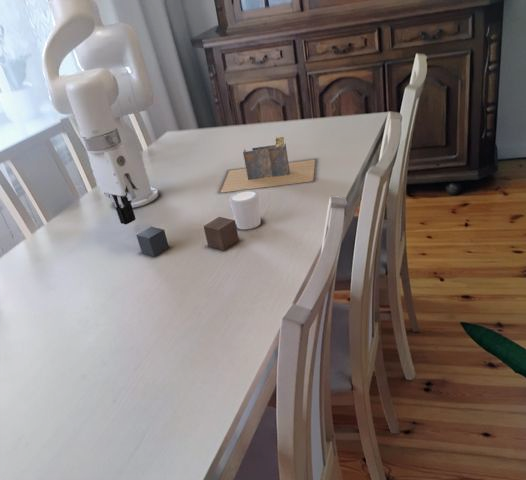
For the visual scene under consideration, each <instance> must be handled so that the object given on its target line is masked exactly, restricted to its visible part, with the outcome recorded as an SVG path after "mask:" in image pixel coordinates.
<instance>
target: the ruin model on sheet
mask: <svg viewBox="0 0 526 480" xmlns="http://www.w3.org/2000/svg"><path fill="white" fill-rule="evenodd" d="M286 143H287V142H286ZM286 143H285V136H284V135H283V136H279V137H277V136H275V144H271V145H266V146H265V145H263V146H257V147H252V148H251V150H247V151H246V148H244V149H243V151H242V154H243V161H244V165H245V168H239V169H232V170H229V171H228V173H227V175H226V178H225V180H224V183H223V184H222V187H221V189H220V193H228V192H229V193H230V192H238V191H245V190H253V189H260V188H269V187H277V186H285V185H294V184H300V183H301V184H303V183H309V182H314V178H315V177H314V175H315V167H316V166H315V165H316V159H310V160H309V159H308V160H302V161H294V162H289V157H288V150H287V144H286Z"/></svg>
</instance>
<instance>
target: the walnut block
mask: <svg viewBox="0 0 526 480" xmlns="http://www.w3.org/2000/svg"><path fill="white" fill-rule="evenodd" d="M203 230H204V235H205V239H206V242H207V246H208V247H209V248H213V249H217V250H221V251H225V250H227V249H229V248H231V247H233V245H235V244H237V243H238V242H239V241H240V238H239V233H238V227H237V224H236V221H235V219H231V218H226V217H223V216H218V217H215V218H214V219H213V220H211V221H210V222H208V223H206V224H204V225H203Z"/></svg>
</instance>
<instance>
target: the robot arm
mask: <svg viewBox="0 0 526 480" xmlns="http://www.w3.org/2000/svg"><path fill="white" fill-rule="evenodd" d="M47 1H48V2H47V3H48V5H49V9H50V14H51V18H52V21H53V28H52V29H51V31H50V33H49V35H48V37H47V39H46V42H45V44H44V47H43V51H42V57H41V67H42V73H43V78H44V81H45V86H46V89H47V93H48V97H49V100H50V103H51V105H52V106H53V108H54V110H55V111H56V112H57V113H59V114H61V115H65V116H66V115H67V116H68V115H73V116H74V119H75V122H76V124H77V127H78V130H79V133H80V136H81V139H82V142H83V145H84V148H85V151H86V153H87V157H88V160H89V165H90V168H91V172H92V175H93V178H94V181H95V184H96V186H97V188H98V190H99V192H102V193H103V194H104V195H105V196H106V197H108V198H109V199H110V200H111V204H112V205H113V207H114V208H115V210H116V213H117V216H118V219H119V222H120V224H122V225H125V226H127V225H129V224H131V223H132V222H134V221H136V215H135V212H134V209H135V208H138V207H142V206H145V205H147V204H150V203H152V202H153V201H155V200H156V199H157V198H158V196H159V191H158V189H157V188H155V187H153V186H151V184H150V180H149V176H148V174H147V170H146V166H145V163H144V160H143V156H142V153H141V148H140V145H139V142H138V139H137V135H136V133H135V131H134V129H133V127H131V126H130V125H129V123H127V122H126V121H125V120H123V119H122V118H121V117H124V116H128V115H132V114H139V113H142V112H145V111H146V112H147V111H148V110H150V109H151V108H152V107H153V105H154V93H153V90H152V85H151V81H150V77H149V74H148V71H147V66H146V62H145V58H144V55H143V51H142V47H141V44H140V40H139V38H138V35H137V33H136V31H135V29H134V28H133V26H132V25H130V24H129V23H127V22H116V23H110V24H106V25H104V24H103V21H102V17H101V13H100V10H99V6H98V4H97V2H96V1H95V0H47ZM71 52H73V53H74V56H75V59H76V62H77V65H78V66H79V68H80V70H81V71H76V72H72V73H67V74H63V75H60V68H61V65H62V63H63V61H64V60H65V59H66V57H67V56H68V55H69V54H70V53H71ZM121 68H122V69H123V68H124V69H127V70H128V71H124V72H121V73H116V74H113V73H112V72H111V71H112V70H117V69H121Z"/></svg>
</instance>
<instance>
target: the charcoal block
mask: <svg viewBox="0 0 526 480" xmlns="http://www.w3.org/2000/svg"><path fill="white" fill-rule="evenodd" d="M166 235H167V234H166V231H165V229H163V228H160V227H156V226H150V227H148V228H146V229H144V230H143V231H141V232H139V233H137V234H136V235H135V236H136V239H137V242H138V245H139V248H140V251H141V254H143V255H146V256H151V257H153V258H155V257H157V256H158V255H160V254H162V253H163V252H165V251H167V250H168V249H170V245H169V242H168V238H167V236H166Z"/></svg>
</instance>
